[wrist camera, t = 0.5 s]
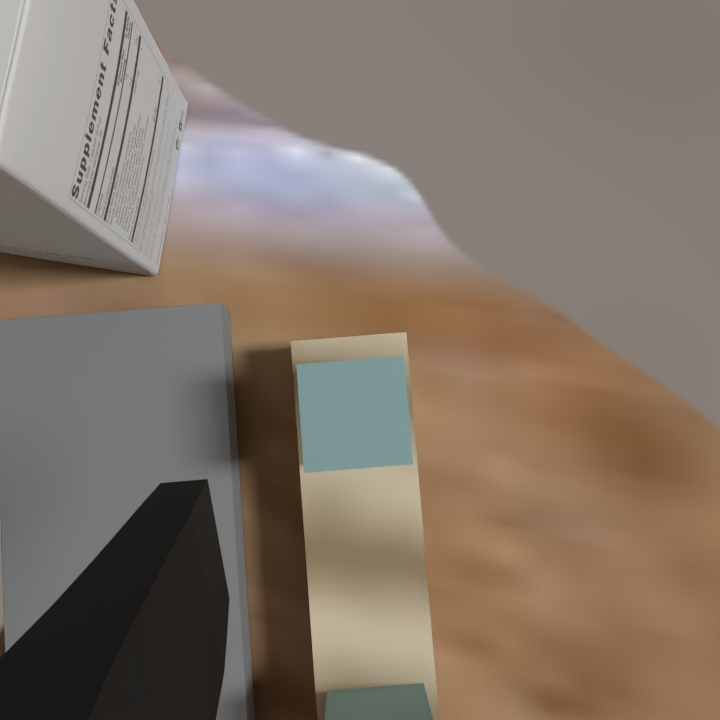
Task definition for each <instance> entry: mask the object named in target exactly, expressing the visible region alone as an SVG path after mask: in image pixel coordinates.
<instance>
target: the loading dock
mask: <svg viewBox="0 0 720 720" xmlns="http://www.w3.org/2000/svg"><path fill="white" fill-rule="evenodd" d="M201 479H208V484H209V489H210V495H211V500H212V506H213V511H214V517H215V522H216V527H217V533H218V538H219V544H220V549H221V555H222V560H223V565H224V571H225V576H226V582H227V587H228V593H229V614H228V630H227V644H226V657H225V670H224V677H223V683H222V688H221V694H220V699H219V705H218V710H217V716H216V720H255V706H254V690H253V674H252V659H251V643H250V627H249V611H248V596H247V580H246V564H245V548H244V533H243V517H242V501H241V485H240V470H239V454H238V438H237V423H236V407H235V391H234V375H233V360H232V344H231V328H230V312H229V309H227V308H226V307H225V306H224V305H223V304H221V303H216V304H203V305H190V306H177V307H163V308H150V309H137V310H124V311H111V312H98V313H85V314H72V315H59V316H46V317H33V318H20V319H7V320H0V517H1V545H2V574H3V601H4V632H5V653H6V652H7V651H8V649H9V648H10V647H11V646H12V645H13V644H14V643H15V642H16V641H17V640H18V639H19V638H20V637H21V636H22V635H23V634H24V633H25V632H26V631H27V630H28V629H29V628H30V627H31V626H32V625H33V624H34V623H35V622H36V621H37V620H38V619H39V618H40V617H41V616H42V615H43V614H44V613H45V612H46V611H47V610H48V609H49V608H50V607H51V606H52V605H53V604H54V603H55V602H56V600H57V599H58V598H59V597H60V596H61V595H62V594H63V593H64V592H65V591H66V589H67V588H68V587H69V586H70V585H71V584H72V583H73V582H74V581H75V579H76V578H77V577H78V576H79V575H80V574H81V573H82V572H83V571H84V570H85V568H86V567H87V566H88V565H89V564H90V563H91V562H92V561H93V560H94V558H95V557H96V556H97V555H98V554H99V553H100V552H101V551H102V549H103V548H104V547H105V546H106V545H107V544H108V542H109V541H110V540H111V539H112V538H113V537H114V536H115V534H116V533H117V532H118V531H119V530H120V529H121V527H122V526H123V525H124V524H125V523H126V522H127V520H128V519H129V518H130V517H131V516H132V515H133V513H134V512H135V511H136V510H137V509H138V508H139V507H140V505H141V504H142V503H143V502H144V501H145V500H146V499H147V498H148V496H149V495H150V494H151V493H152V492H153V491H154V490H155V489H156V488H157V486H158V485H159V484H160V483H167V482H178V481H190V480H201Z"/></svg>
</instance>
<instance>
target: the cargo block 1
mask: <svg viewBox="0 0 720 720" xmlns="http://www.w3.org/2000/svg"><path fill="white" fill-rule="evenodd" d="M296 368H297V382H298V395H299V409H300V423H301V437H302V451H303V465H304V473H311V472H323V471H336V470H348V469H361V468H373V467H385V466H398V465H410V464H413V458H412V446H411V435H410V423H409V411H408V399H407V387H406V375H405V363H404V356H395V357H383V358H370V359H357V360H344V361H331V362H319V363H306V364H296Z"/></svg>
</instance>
